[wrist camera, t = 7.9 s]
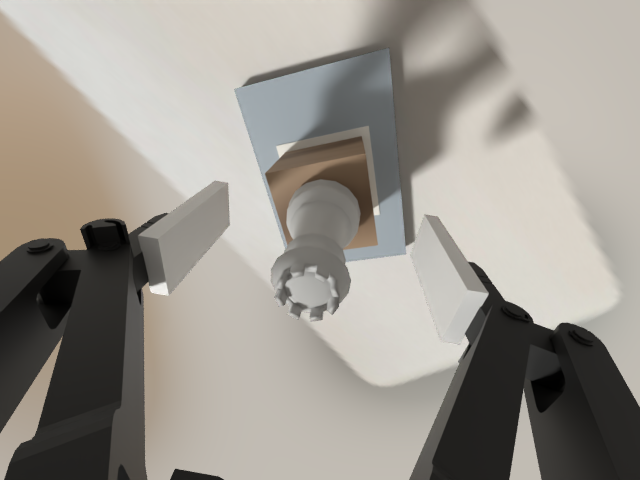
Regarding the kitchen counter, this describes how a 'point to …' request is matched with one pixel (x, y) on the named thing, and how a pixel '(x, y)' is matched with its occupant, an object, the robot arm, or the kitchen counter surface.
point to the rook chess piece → (316, 249)
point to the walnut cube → (327, 164)
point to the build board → (334, 131)
